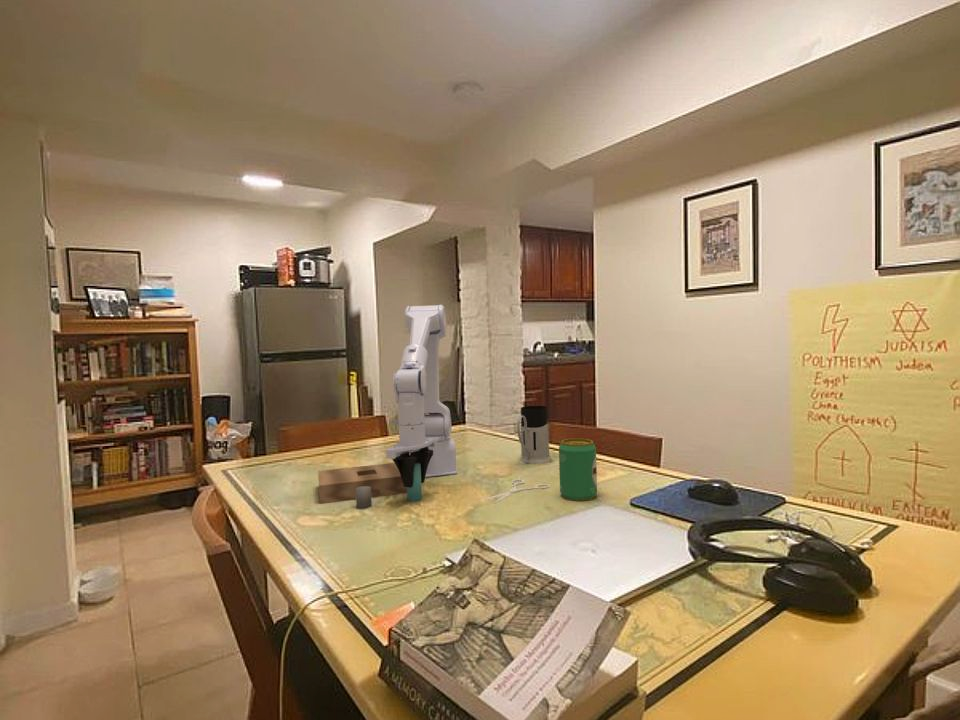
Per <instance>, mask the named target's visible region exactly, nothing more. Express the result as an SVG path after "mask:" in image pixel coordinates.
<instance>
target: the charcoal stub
mask: <svg viewBox="0 0 960 720" xmlns="http://www.w3.org/2000/svg"><path fill="white" fill-rule="evenodd" d="M355 503H356V504H355V505H356V509H359V510H365V509H369V508H372V505H373V504H372V497H371V487H370V486H361V487H357V488H356V499H355Z"/></svg>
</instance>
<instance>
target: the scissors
mask: <svg viewBox="0 0 960 720" xmlns="http://www.w3.org/2000/svg"><path fill="white" fill-rule="evenodd" d="M510 483H511V484H512V488H511V489H510V490H509V491H507V492H503V493H500V494H496V495H494V496H493V495H492V496H489V497H486V498H483V499H481V500H479V502H480V501H486V500H489V499H493V498H494V499H495V498H497V497H499V499H497V500H496V501H494V504H496V503H498V502H500V501H502V500H504V499H505V498H508V497H510V496H511V495H512V494H514V493H515V494H516V493H518V492H523V491H531V490H546V489H549V488H550V484H547V483H539V484H535V486H533V487H529V488H528V487H527V488H526V487H525V488H517V486H519V485H524V484H525V480H524V479H522V477H521V476H518V477H517V479H513V480H512V481H510ZM543 486H544V487H543Z"/></svg>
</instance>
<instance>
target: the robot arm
mask: <svg viewBox="0 0 960 720" xmlns="http://www.w3.org/2000/svg"><path fill="white" fill-rule="evenodd" d="M404 323H405V327H406V328H407V331H408V333H409V335H410V337H409V345H407V346H405V347H404V348H403V352H402V357H401V361H400V365H399V368H398V370H397V371H395V372H394V374H393V380H392V381H393V382H392V383H393V390H394V391H393V392H394V396H395V397H394V398H395V403H396V404H397V419H398V440H399V441H398V442H396V444H395V445H394V446H391V447H388V448H386V449H385V458H386V459H390V460H392V461H393V463H395V464H396V466H397V468H398V470H399V472H400V475H401V478H402V481H403V485H404V487H409V488H411V487H413V473H414V466H415V462H418V463H421V484H424V483H425V480H426V478H430V477H439V476H446V475H454V474H455V475H457V474H458V471H457V453H456V443H455V440H454V439H453V438H452V437H450V436H451V435H452V434H451V433H452V417H451V411H450V408H449V407H448V406H447V405H445V404H444V403H443V402H442V401H440V373H439V372H440V371H439V370H440V365H439V364H440V363H439V345H440V341H441V339H444V338H445V337H446V333H447V313H446V309H445V306H444V305H443V304H439V305H438V304H436V305H413V306H411V305H407V307H406V308H405V310H404ZM432 413H433V414H432Z"/></svg>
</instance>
